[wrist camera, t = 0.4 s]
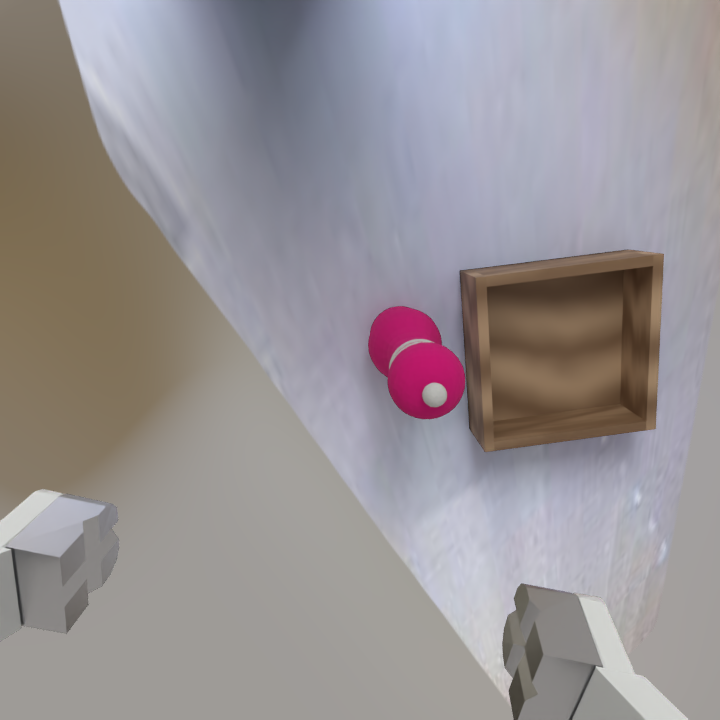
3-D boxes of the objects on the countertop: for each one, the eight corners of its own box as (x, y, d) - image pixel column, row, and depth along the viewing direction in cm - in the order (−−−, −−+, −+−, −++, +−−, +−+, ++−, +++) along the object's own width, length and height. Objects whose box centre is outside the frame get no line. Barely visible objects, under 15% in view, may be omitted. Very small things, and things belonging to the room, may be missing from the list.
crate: (459, 270, 54) (475, 277, 48) (628, 249, 55) (663, 253, 49) (469, 428, 59) (485, 452, 53) (623, 408, 60) (655, 428, 54)
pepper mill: (368, 370, 56) (391, 452, 37) (361, 305, 54) (381, 356, 35) (434, 362, 57) (489, 439, 37) (429, 297, 55) (485, 343, 35)
